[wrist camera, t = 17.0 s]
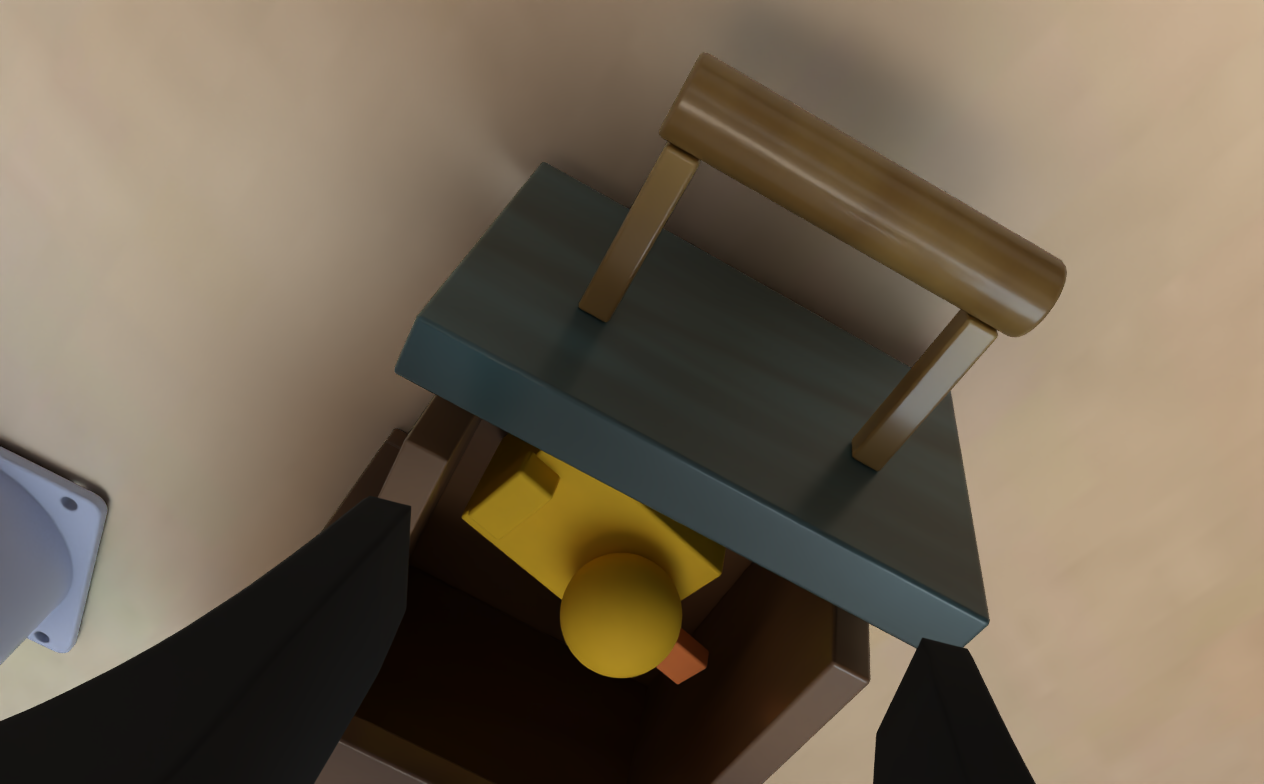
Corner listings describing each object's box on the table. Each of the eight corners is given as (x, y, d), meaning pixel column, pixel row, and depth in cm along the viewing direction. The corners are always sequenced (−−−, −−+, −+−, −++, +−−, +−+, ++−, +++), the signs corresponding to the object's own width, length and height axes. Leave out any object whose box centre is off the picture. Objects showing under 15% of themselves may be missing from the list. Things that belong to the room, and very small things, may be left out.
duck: (496, 435, 23) (414, 586, 19) (588, 353, 21) (522, 499, 17) (666, 580, 25) (627, 753, 20) (766, 515, 23) (746, 687, 18)
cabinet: (395, 426, 26) (215, 681, 19) (761, 617, 27) (729, 929, 20) (272, 695, 33) (108, 956, 26) (565, 837, 34) (488, 1125, 27)
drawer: (645, -56, 18) (541, 24, 12) (1103, 217, 19) (1222, 418, 13) (367, 531, 27) (230, 744, 21) (684, 693, 28) (640, 939, 22)
